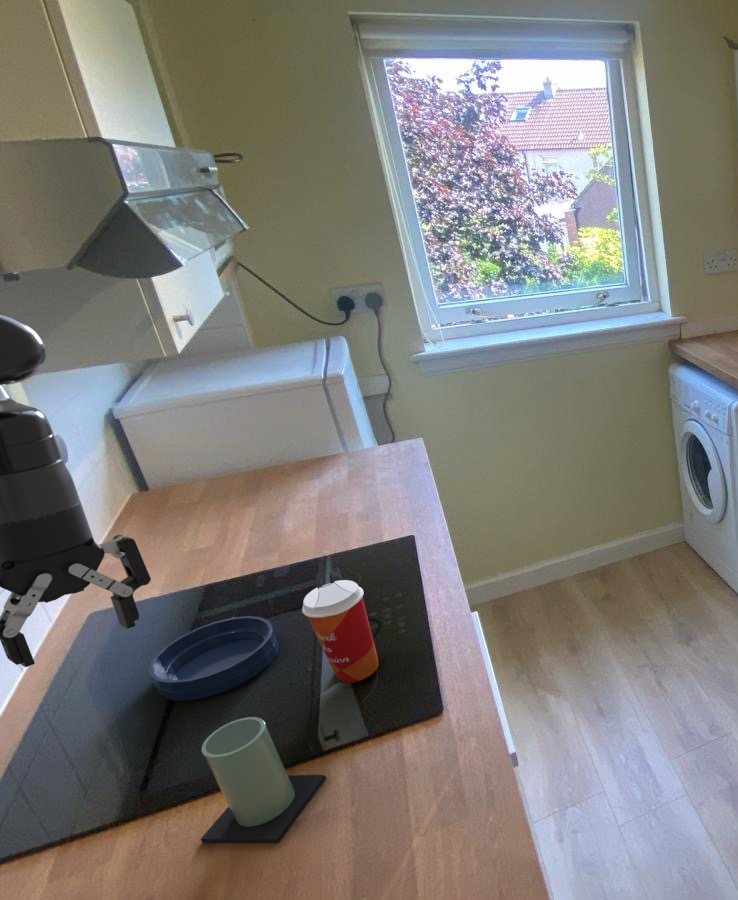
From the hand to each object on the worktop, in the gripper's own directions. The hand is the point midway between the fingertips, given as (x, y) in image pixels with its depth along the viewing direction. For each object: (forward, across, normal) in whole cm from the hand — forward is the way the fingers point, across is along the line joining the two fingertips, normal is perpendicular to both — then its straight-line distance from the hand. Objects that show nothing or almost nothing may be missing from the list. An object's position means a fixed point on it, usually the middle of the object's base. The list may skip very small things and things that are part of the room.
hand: (80, 644), depth 81 cm
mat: (+24, +8, -12) cm, 28 cm away
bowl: (+20, +18, +21) cm, 34 cm away
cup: (+23, +8, -12) cm, 27 cm away
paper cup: (+20, +28, +1) cm, 34 cm away
